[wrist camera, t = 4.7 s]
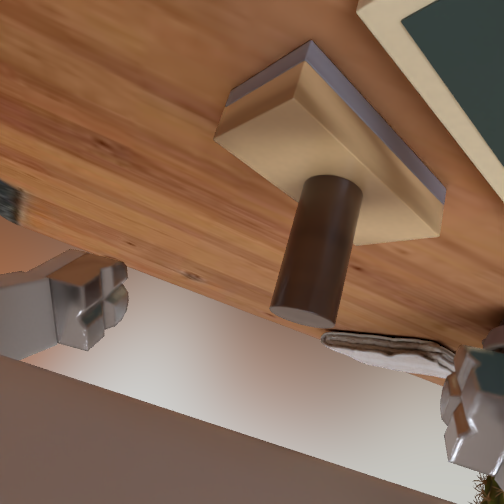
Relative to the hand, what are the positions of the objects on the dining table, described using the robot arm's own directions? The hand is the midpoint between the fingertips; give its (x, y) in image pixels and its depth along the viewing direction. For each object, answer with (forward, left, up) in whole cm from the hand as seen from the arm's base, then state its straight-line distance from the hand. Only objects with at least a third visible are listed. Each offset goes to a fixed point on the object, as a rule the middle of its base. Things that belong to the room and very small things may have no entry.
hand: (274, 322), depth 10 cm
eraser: (+6, -5, -11) cm, 13 cm away
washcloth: (+47, -26, -11) cm, 54 cm away
